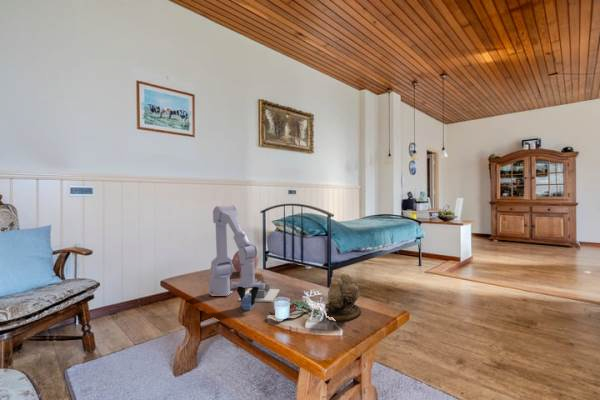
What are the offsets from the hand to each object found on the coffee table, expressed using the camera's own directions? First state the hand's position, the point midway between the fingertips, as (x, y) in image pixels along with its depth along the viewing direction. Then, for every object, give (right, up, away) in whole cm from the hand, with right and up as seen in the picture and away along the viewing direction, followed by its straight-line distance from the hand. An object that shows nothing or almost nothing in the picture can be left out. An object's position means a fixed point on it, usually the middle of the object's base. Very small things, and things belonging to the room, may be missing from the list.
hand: (248, 304), depth 131 cm
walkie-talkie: (+19, -2, -8) cm, 21 cm away
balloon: (-13, 0, +54) cm, 56 cm away
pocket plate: (+3, -1, +15) cm, 15 cm away
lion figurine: (-3, -1, +30) cm, 30 cm away
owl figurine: (+40, -1, -9) cm, 41 cm away
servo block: (0, -2, 0) cm, 2 cm away
